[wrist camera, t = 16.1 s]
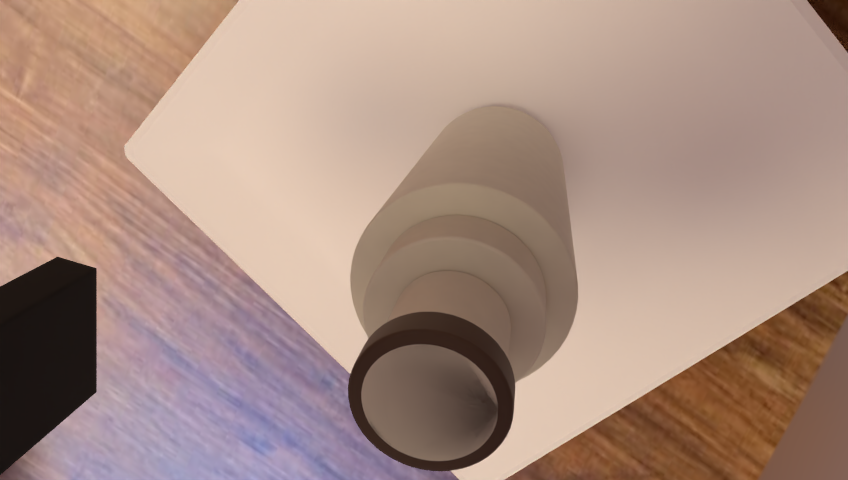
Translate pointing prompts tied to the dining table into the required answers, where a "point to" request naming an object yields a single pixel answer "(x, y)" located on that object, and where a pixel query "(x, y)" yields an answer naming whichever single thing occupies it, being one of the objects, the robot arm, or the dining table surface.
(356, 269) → the bottle
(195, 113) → the beige square board
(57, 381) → the robot arm
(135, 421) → the dining table surface
